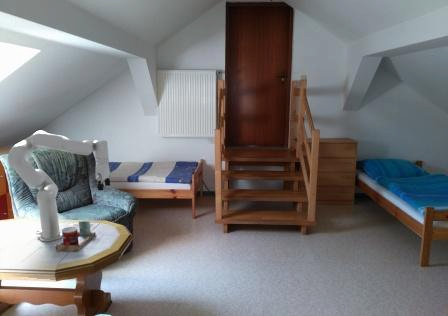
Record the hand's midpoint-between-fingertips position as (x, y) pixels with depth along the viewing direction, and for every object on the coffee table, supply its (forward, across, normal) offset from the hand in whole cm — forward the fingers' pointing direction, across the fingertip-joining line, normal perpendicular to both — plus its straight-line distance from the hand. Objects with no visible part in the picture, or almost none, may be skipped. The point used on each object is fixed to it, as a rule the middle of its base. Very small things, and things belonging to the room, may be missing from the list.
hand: (104, 187), depth 215 cm
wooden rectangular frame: (+28, +17, -11) cm, 35 cm away
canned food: (+28, +23, -11) cm, 38 cm away
